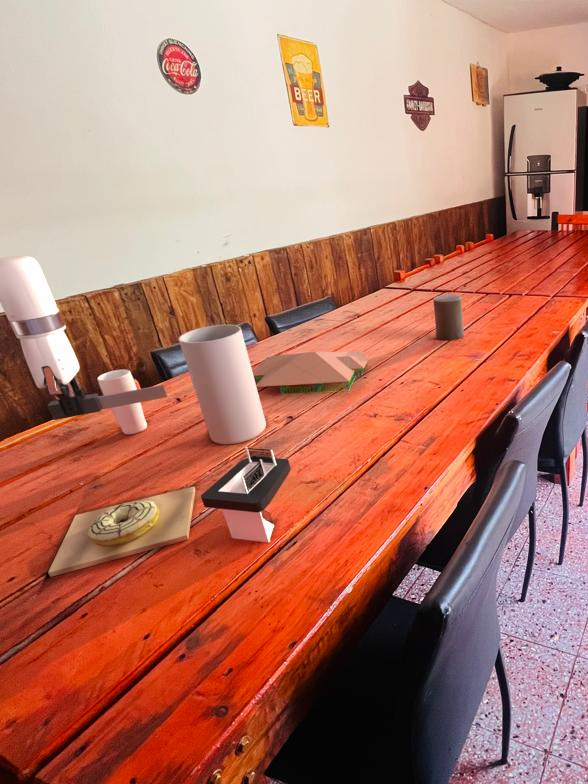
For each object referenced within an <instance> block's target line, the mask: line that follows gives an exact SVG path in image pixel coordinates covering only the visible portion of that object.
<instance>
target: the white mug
mask: <svg viewBox="0 0 588 784" xmlns="http://www.w3.org/2000/svg"><path fill="white" fill-rule="evenodd" d="M96 379H97V382H98V385H99V388H100V390H101V393H102V396H104V395H110V394H115V393H121V392H126V391H132V390H137V389H138V388H137V385H136V382H135V378H134V377H133V375H132V373H131V370H129V369H115V370H111V371H108V372H105V373H102V374H100V375H99V376H98V377H97V378H96ZM110 410H111V412H112V414H113V416H114V417H115V419H116V421H117V423H118V425H119V427H120V430H121V432H122V433H123V434H124V435H127V436H128V435H136V434H139V433H141V432H143V431H145V430H146V429H147V428H148V423H147V420H146V417H145V414H144V410H143V405H142V402H139V403H134V404H129V405H123V406H118V407H113V408H110Z"/></svg>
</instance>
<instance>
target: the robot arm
mask: <svg viewBox="0 0 588 784" xmlns="http://www.w3.org/2000/svg"><path fill="white" fill-rule="evenodd" d="M0 305H1V308H2V309H3V311H4V314H5V316H6V317H7V320H8V322H9V324H10V326H11V328H12V331H13V333H14V335H15V337H16V338H17V339H19V341H20V345H21V349H22V352H23V355H24V356H23V357H24V358H25V361H26V364H27V366H28V369H29V371H30V374H31V376H32V379H33V382H34V383H35V385H36V387H37V388H38V389H41V390H43V389H45V388H48V392H49V394H50V395H51V396H54V397H55V399H56V400H58V402H59V404H60V406H61V408H62V410H63V413H64V415H65V416H66V417H68V418H72V417H71V416H74V417H77V416H76V415H79V416H82V415H81V414H84V412H85V411H84V409H83V407H82V404H81V402H80V400H79V398H78V397H79V396H85V395H86V394H85V393H84V391H83V389H82V385H81V383H80V381H79V379H78V378H79V377H78V372H79V371H80V369H81V368H80V363H79V359H78V358H77V355H76V352H75V351H74V348H73V347H72V344H71V342H70V340H69V339H68V337H67V334H66V333H65V330H66V328H67V326H66V324H65V322H64V320H63V317H62V314H61V313H60V309H59V308H58V305H57V303H56V300H55V298H54V296H53V294H52V291H51V288H50V286H49V284H48V282H47V279H46V277H45V274H44V271H43V269H42V267H41V265H40V263H39V262H38V260H36V259H35V258H34V257H32V256H29V255H14V256H4V257H0ZM84 415H85V414H84Z"/></svg>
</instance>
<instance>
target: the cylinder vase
mask: <svg viewBox="0 0 588 784" xmlns="http://www.w3.org/2000/svg"><path fill="white" fill-rule="evenodd" d="M178 343H179V345H180V348H181V351H182V354H183V358H184V361H185V364H186V367H187V370H188V373H189V377H190V379H191V382H192V386H193V388H194V392H195V395H196V398H197V401H198V404H199V408H200V411H201V413H202V416H203V420H204V422H205V426H206V429H207V433H208V435H209V438H210V440H211V441H212V442H214V443H216V444H220V445H234V444H241V443H245V442H247V441H250V440H252V439H254V438H256V437H258V436H259V435H261V434H262V433H263V432H264V430H266V426H267V422H266V417H265V414H264V410H263V406H262V402H261V398H260V395H259V392H258V387H256V382H255V378H254V376H253V372H254V371H253V368H252V364H251V361H250V358H249V354H248V350H247V345H246V342H245V339H244V334H243V331H242V326H240V325H237V324H215V325H209V326H203V327H198V328H195V329H192V330H189V331H187V332H185V333H182V334H181V335H179V337H178Z"/></svg>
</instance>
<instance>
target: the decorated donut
mask: <svg viewBox="0 0 588 784" xmlns="http://www.w3.org/2000/svg"><path fill="white" fill-rule="evenodd" d="M134 501H135V502H132V501H129V503H128V502H124V503H120V504H121V505H119V504H117V505H118V506H116V507H114V508H112V509H109V510H107V511H106V512H104V513H102V514H101V515H100V516H98V517H96V518H95V519H94V520H93V521H92V522H91V524H90V527H89V530H88V536H89V537H90V539H91V540H92V541H93V542H94V543H96V544H97V545H99V546H105V547H111V546H118V545H122V544H126V543H129V542H131V541H133V540H136V539H138V538H139V537H141V536H143V535H144V534H145V533H146V532H148V531H150V530H151V529H152V528H153V527H154V526H155V525H156V523H157V521H158V517H159V509H158V508H157V507H156V505H155V504H154V502H152V501H136V500H134Z"/></svg>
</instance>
